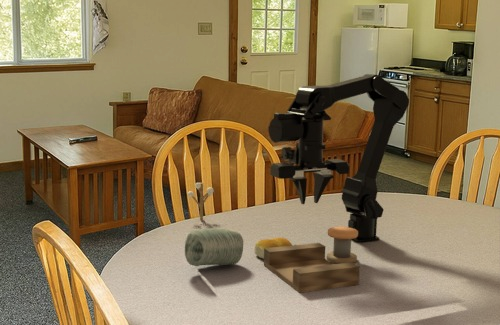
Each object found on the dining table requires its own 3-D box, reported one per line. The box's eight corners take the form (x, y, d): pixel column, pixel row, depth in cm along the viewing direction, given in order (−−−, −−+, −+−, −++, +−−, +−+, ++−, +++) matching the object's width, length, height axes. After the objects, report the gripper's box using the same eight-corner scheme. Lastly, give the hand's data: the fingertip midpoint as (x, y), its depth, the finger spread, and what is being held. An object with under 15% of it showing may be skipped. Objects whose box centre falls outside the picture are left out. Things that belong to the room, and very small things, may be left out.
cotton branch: (185, 222, 187) (185, 180, 185) (205, 219, 191) (205, 177, 189) (198, 228, 181) (198, 184, 179) (218, 225, 185) (219, 182, 183)
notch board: (318, 259, 157) (319, 242, 156) (358, 284, 140) (359, 266, 140) (263, 265, 152) (264, 248, 151) (299, 292, 135) (299, 273, 134)
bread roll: (299, 255, 157) (299, 239, 157) (267, 262, 153) (267, 246, 152) (280, 245, 164) (280, 230, 164) (248, 252, 160) (248, 236, 159)
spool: (188, 268, 141) (204, 223, 141) (171, 255, 149) (187, 213, 149) (241, 282, 148) (257, 240, 148) (222, 269, 156) (237, 229, 156)
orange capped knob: (346, 253, 161) (348, 225, 160) (362, 262, 155) (363, 233, 154) (321, 256, 159) (322, 228, 158) (335, 265, 152) (337, 236, 151)
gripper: (329, 133, 170) (327, 193, 173) (261, 137, 163) (261, 199, 166) (351, 139, 160) (349, 203, 162) (280, 143, 153) (279, 209, 156)
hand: (309, 203), depth 162 cm, fingers open, 3 cm apart
